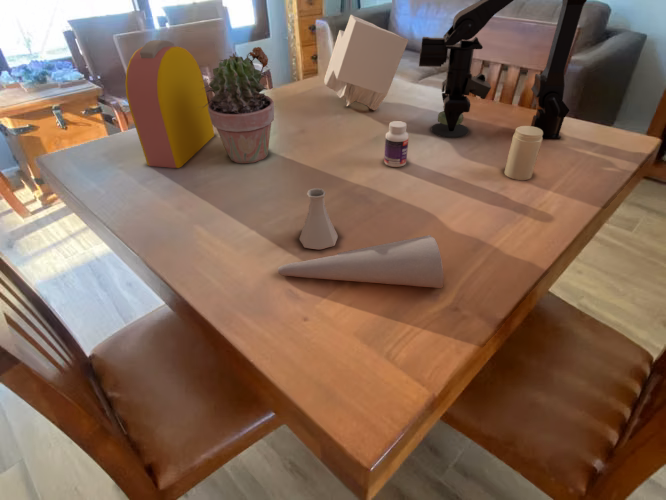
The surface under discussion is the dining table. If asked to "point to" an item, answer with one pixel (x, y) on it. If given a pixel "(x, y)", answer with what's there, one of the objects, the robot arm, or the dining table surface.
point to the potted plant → (241, 107)
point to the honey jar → (523, 152)
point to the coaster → (444, 131)
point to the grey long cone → (378, 264)
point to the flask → (317, 223)
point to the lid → (443, 120)
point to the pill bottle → (396, 144)
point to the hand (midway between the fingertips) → (450, 126)
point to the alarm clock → (167, 103)
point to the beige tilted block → (364, 62)
